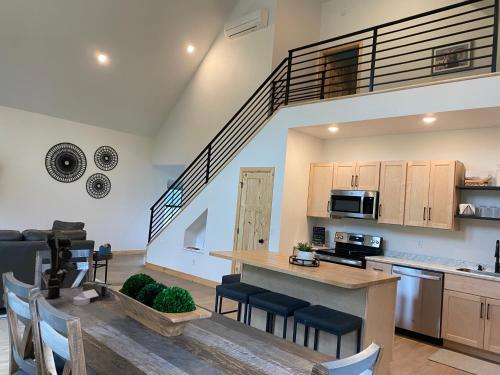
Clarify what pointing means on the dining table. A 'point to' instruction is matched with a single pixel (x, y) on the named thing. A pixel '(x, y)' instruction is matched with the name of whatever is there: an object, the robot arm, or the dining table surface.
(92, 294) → the wedge on round base
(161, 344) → the dining table surface
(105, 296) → the gauge housing
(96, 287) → the gauge plunger
